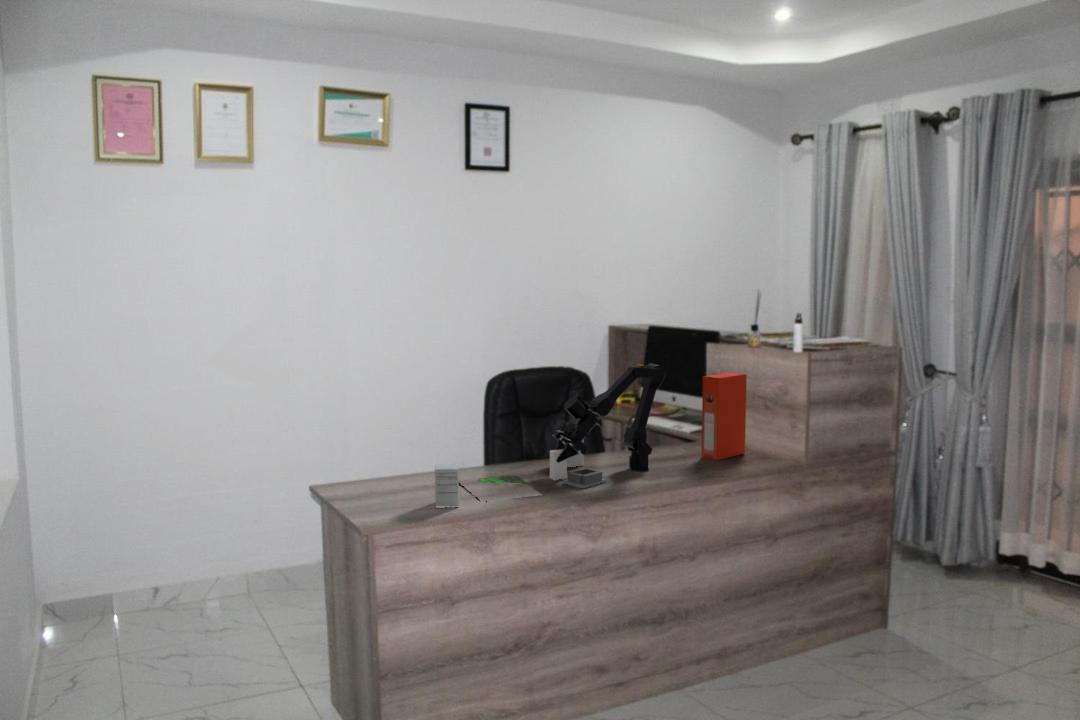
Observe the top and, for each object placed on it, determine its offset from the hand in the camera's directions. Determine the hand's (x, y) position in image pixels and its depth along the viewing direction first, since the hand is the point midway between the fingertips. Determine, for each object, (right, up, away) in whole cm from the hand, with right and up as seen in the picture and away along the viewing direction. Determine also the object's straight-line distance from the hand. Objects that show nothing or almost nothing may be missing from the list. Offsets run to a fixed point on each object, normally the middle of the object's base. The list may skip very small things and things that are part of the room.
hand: (554, 460), depth 303 cm
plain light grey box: (+1, -7, +1) cm, 7 cm away
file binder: (+67, -2, +37) cm, 76 cm away
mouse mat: (-19, -9, -12) cm, 24 cm away
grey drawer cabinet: (-35, -11, -31) cm, 48 cm away
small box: (+6, -4, +21) cm, 23 cm away
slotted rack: (+10, -7, -5) cm, 14 cm away
